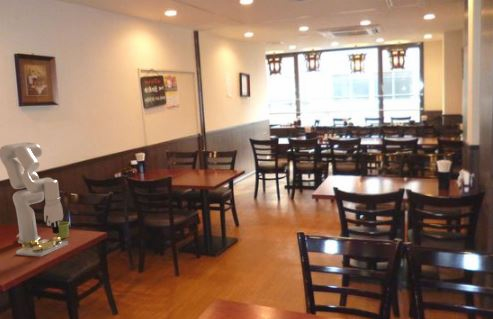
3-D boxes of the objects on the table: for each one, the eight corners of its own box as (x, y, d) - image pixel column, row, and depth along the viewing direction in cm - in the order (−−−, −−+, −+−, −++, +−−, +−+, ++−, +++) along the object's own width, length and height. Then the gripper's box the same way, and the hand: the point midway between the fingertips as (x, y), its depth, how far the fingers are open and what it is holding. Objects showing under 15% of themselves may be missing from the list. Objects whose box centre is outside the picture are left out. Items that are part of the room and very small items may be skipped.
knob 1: (35, 251, 239) (34, 245, 239) (32, 249, 242) (31, 244, 242) (53, 246, 246) (52, 240, 245) (50, 245, 249) (49, 239, 249)
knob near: (34, 242, 255) (33, 237, 255) (40, 243, 254) (39, 237, 253) (20, 248, 246) (19, 242, 246) (26, 249, 245) (25, 243, 244)
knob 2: (54, 240, 257) (53, 235, 257) (61, 239, 258) (61, 234, 257) (48, 245, 248) (47, 240, 247) (56, 245, 248) (55, 239, 248)
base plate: (16, 254, 245) (15, 246, 244) (44, 242, 263) (43, 235, 262) (41, 256, 238) (40, 249, 237) (67, 244, 256) (67, 237, 256)
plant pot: (65, 240, 265) (63, 226, 264) (51, 240, 267) (49, 226, 266) (74, 235, 274) (72, 221, 273) (61, 235, 276) (59, 221, 275)
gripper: (57, 197, 254) (60, 228, 257) (37, 204, 240) (40, 236, 243) (67, 198, 251) (70, 229, 254) (47, 205, 237) (51, 237, 241)
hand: (55, 232), depth 249 cm, fingers closed
